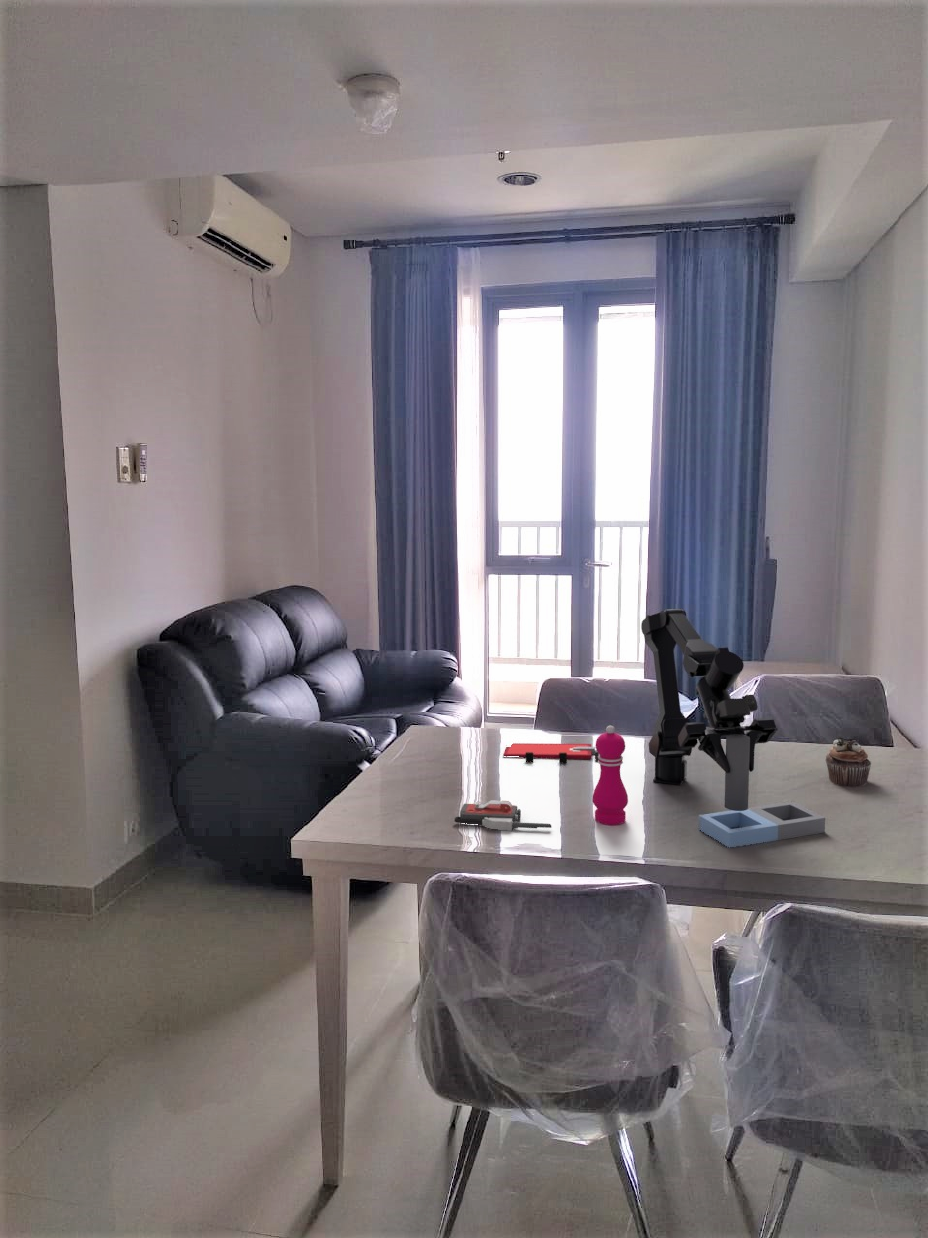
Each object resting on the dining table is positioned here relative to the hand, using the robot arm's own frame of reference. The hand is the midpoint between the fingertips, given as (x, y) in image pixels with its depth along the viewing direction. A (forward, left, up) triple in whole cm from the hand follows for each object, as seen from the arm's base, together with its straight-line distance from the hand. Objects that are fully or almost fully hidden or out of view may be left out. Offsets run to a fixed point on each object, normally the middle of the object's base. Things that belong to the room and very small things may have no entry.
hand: (740, 771), depth 167 cm
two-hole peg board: (+4, +5, -13) cm, 15 cm away
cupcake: (+18, +44, -14) cm, 50 cm away
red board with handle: (-50, +41, -14) cm, 66 cm away
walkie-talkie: (-45, -10, -14) cm, 48 cm away
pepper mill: (-26, 0, -13) cm, 29 cm away
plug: (-1, +1, -8) cm, 8 cm away
